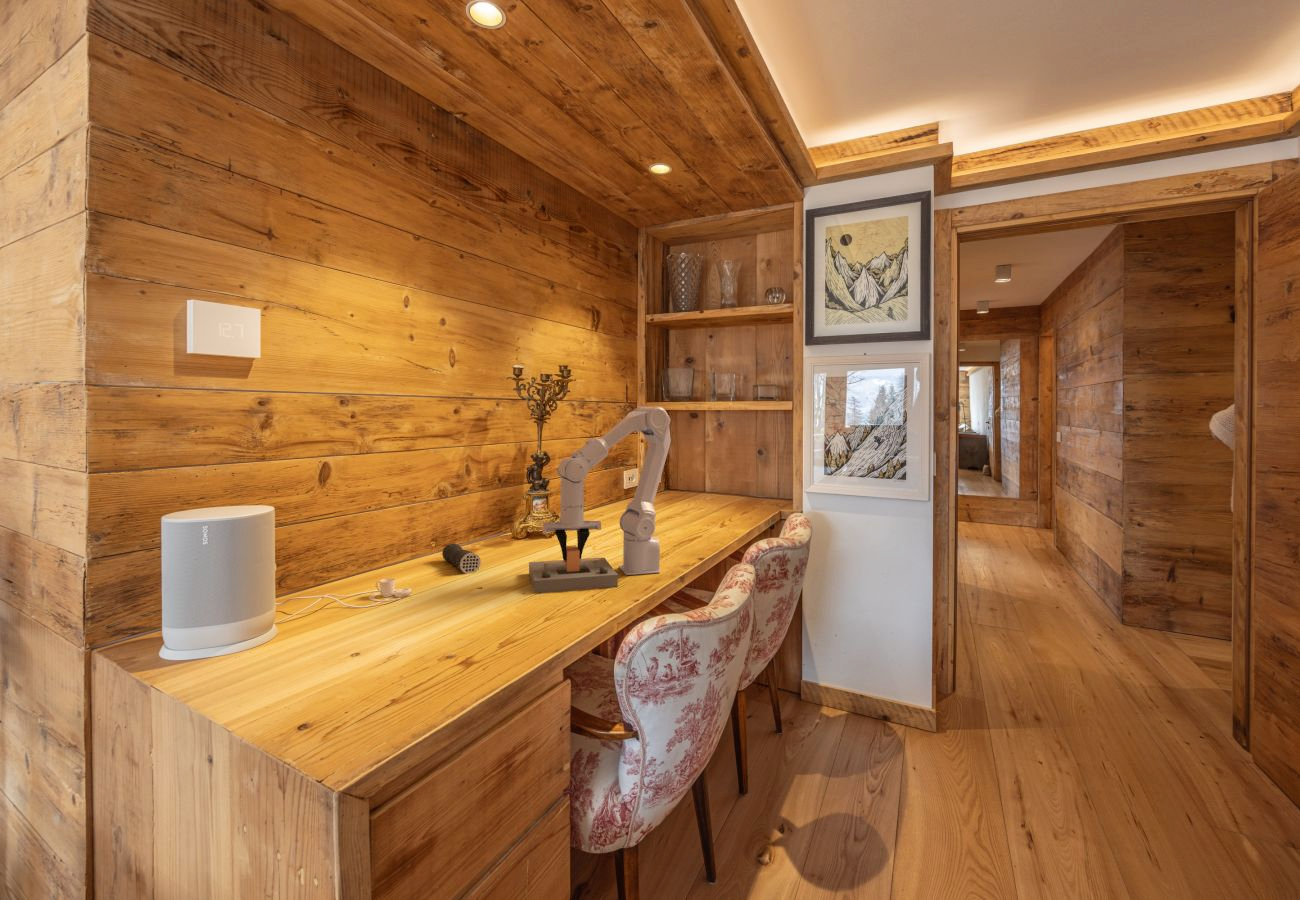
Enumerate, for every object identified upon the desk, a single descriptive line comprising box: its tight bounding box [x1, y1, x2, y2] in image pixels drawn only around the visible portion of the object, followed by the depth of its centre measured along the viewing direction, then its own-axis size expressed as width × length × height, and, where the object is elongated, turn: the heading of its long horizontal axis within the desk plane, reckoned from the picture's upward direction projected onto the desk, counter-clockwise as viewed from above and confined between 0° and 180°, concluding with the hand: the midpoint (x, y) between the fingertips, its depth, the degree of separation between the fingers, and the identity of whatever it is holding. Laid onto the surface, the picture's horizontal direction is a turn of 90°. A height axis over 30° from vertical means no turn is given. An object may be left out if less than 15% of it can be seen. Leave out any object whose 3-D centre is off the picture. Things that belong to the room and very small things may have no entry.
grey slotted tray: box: [528, 557, 619, 594], centre depth 143 cm, size 20×16×5 cm
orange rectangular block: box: [566, 545, 580, 572], centre depth 143 cm, size 3×6×5 cm, turn 16°
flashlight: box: [441, 542, 482, 575], centre depth 154 cm, size 15×5×5 cm, turn 39°
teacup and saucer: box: [368, 577, 412, 603], centre depth 130 cm, size 9×8×4 cm
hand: (571, 558), depth 143 cm, fingers closed on orange rectangular block, 3 cm apart
